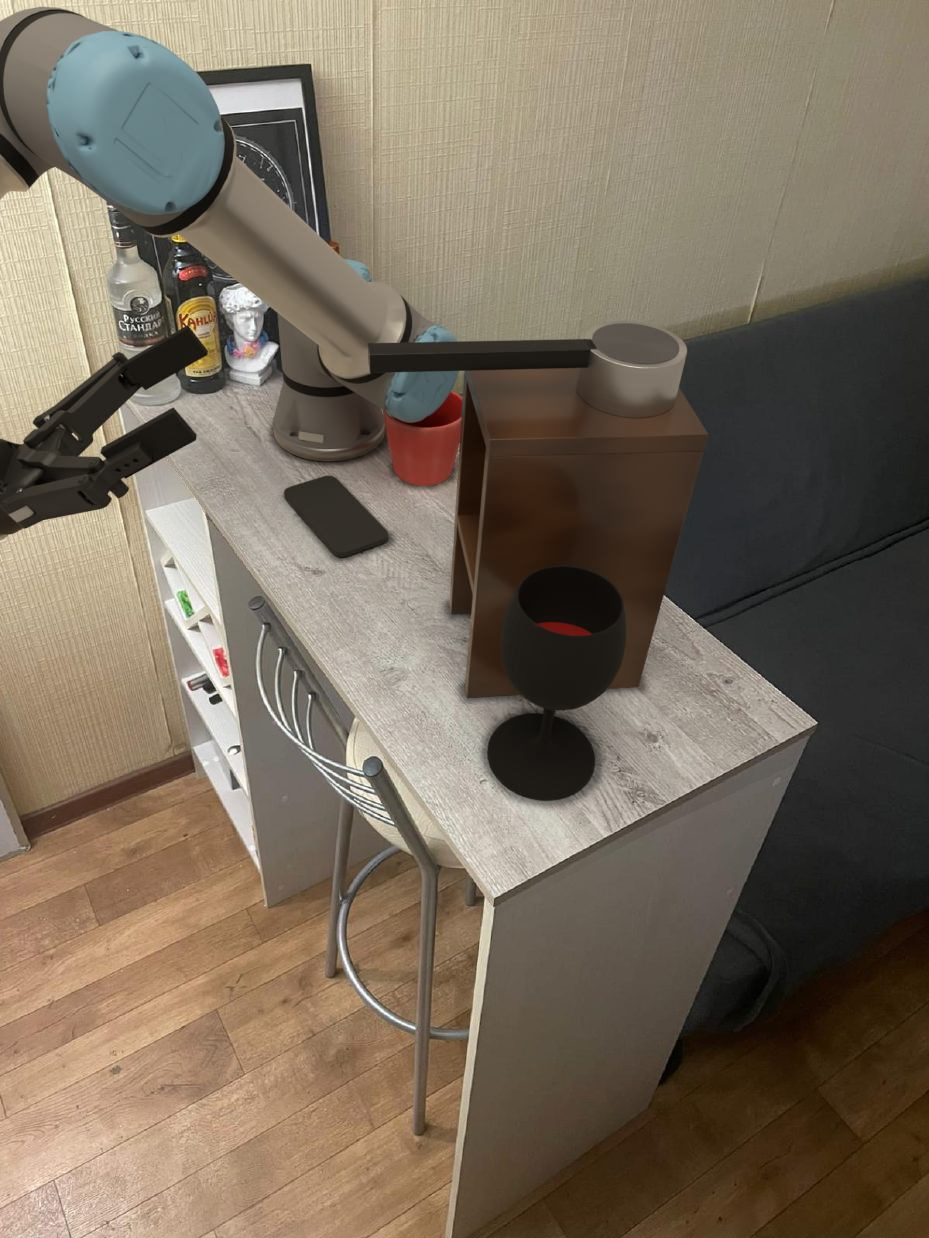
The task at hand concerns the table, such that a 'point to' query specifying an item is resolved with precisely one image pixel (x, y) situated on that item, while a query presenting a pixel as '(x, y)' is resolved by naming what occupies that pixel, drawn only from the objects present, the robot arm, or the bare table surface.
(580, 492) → the shelf
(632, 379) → the pan
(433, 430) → the flower pot
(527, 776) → the wine glass
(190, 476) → the table surface
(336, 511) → the phone
